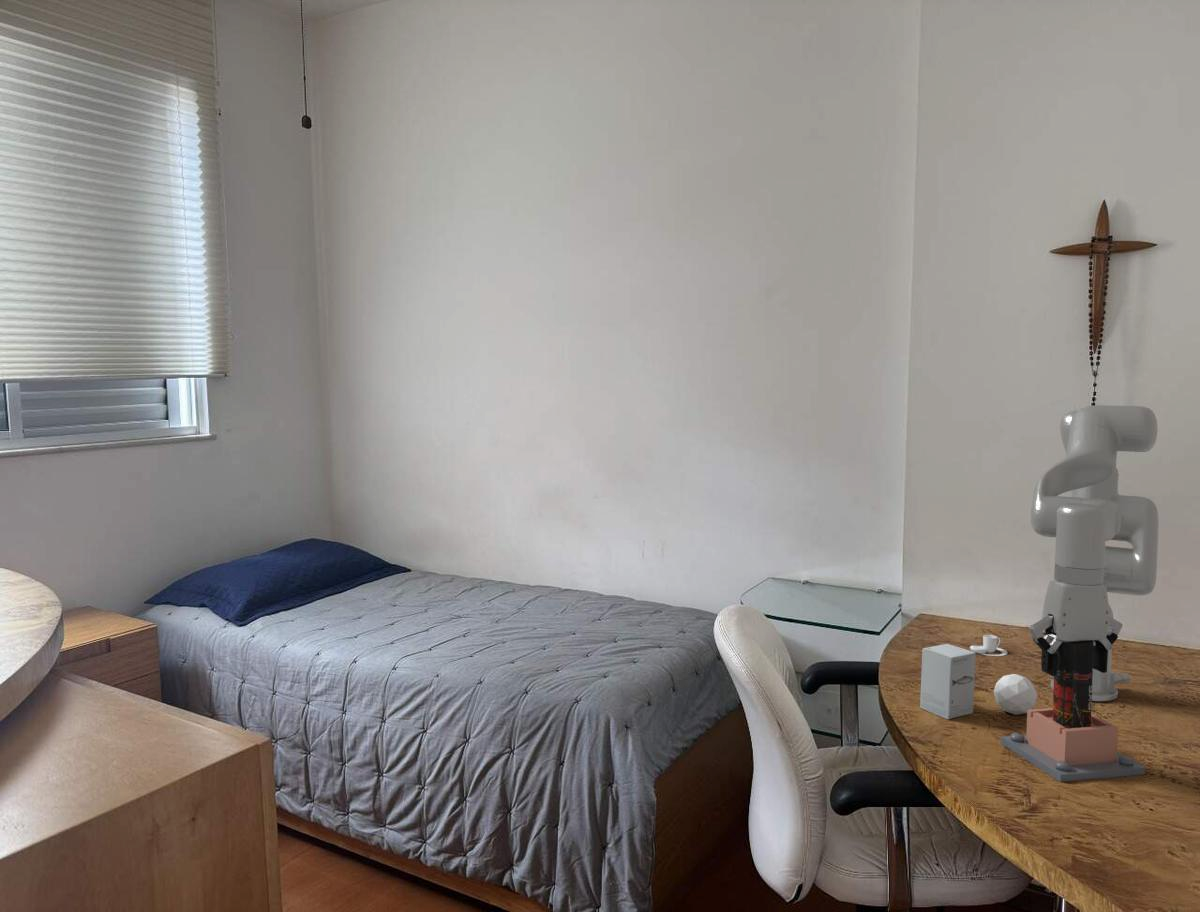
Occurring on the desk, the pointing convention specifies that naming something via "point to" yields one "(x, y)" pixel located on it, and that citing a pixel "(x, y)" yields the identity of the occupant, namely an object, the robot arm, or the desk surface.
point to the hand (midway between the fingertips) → (1073, 671)
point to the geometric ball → (1015, 694)
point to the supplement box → (947, 681)
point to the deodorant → (1073, 684)
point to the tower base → (1067, 768)
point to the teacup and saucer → (988, 646)
